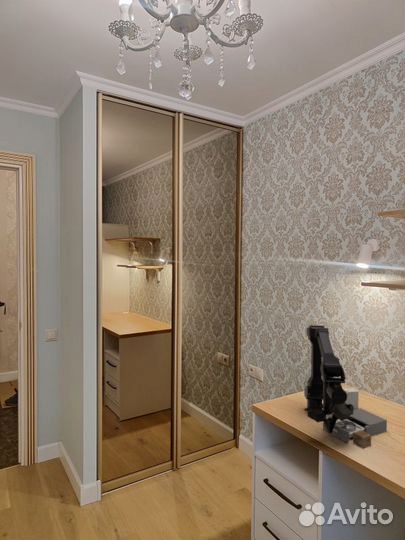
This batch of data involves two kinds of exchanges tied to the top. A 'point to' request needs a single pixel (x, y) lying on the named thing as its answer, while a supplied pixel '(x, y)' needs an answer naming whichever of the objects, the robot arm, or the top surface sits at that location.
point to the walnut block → (362, 439)
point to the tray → (343, 431)
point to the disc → (347, 425)
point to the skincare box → (352, 397)
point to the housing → (368, 421)
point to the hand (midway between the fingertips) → (329, 432)
